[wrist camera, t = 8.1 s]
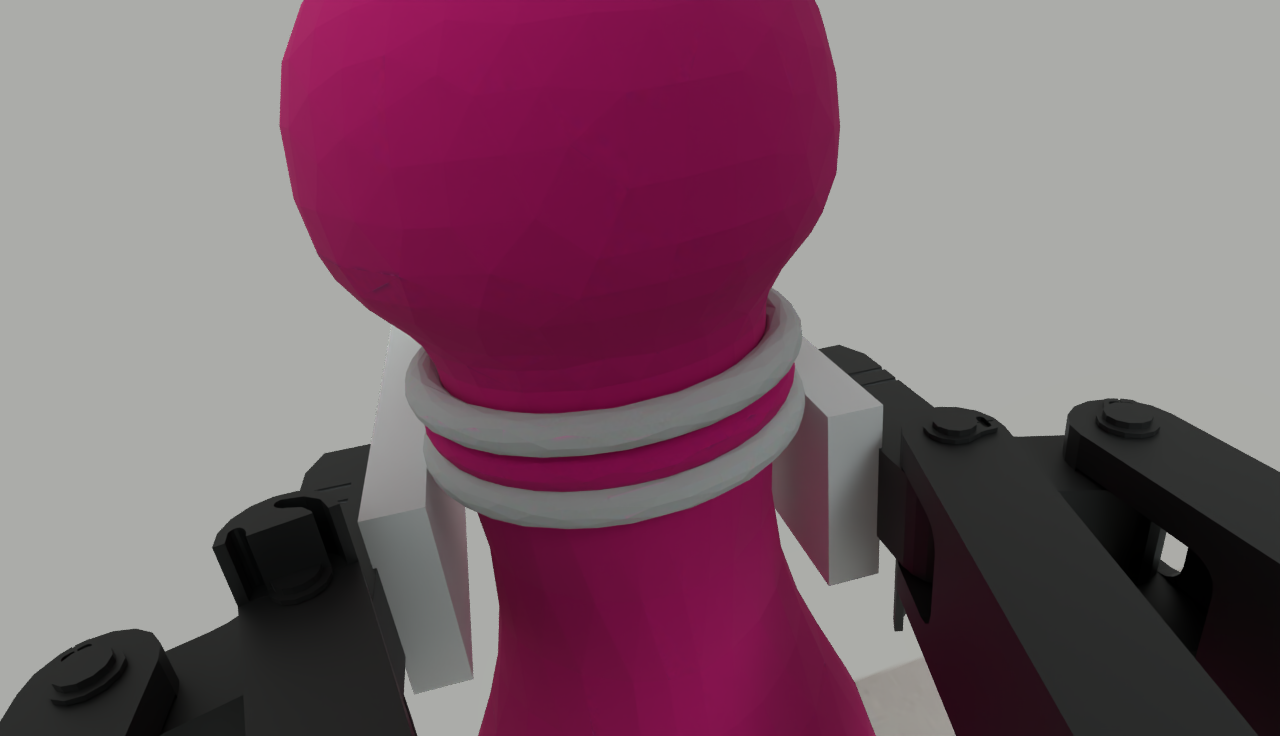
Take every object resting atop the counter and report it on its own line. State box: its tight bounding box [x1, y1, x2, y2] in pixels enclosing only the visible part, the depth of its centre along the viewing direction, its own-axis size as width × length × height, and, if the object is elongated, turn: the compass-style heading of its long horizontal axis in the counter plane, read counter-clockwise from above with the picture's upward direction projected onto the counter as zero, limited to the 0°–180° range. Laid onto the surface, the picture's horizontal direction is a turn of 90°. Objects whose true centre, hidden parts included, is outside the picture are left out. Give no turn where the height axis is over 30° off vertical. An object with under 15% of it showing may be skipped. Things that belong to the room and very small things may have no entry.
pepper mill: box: [280, 0, 876, 736], centre depth 11 cm, size 7×7×20 cm
